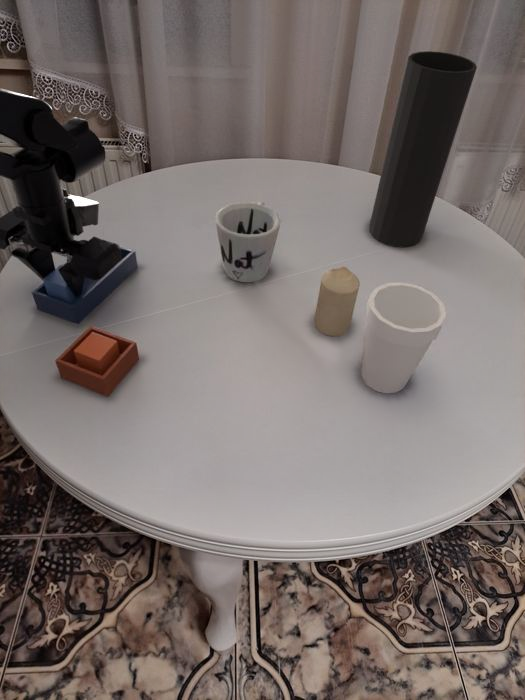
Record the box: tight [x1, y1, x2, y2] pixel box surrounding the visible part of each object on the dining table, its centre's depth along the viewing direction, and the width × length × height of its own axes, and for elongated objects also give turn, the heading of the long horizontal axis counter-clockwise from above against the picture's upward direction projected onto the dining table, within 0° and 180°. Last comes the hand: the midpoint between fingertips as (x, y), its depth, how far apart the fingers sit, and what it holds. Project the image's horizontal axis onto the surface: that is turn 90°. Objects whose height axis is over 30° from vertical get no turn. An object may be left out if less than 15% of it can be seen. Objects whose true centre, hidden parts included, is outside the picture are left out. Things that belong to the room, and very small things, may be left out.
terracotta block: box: [74, 332, 120, 376], centre depth 68 cm, size 4×4×4 cm
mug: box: [214, 201, 282, 283], centre depth 86 cm, size 10×15×10 cm
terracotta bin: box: [54, 325, 140, 398], centre depth 69 cm, size 8×8×3 cm
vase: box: [368, 50, 478, 248], centre depth 88 cm, size 10×10×30 cm
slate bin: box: [31, 245, 138, 325], centre depth 81 cm, size 8×16×3 cm, turn 157°
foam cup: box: [361, 281, 447, 394], centre depth 67 cm, size 10×9×13 cm
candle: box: [313, 266, 361, 337], centre depth 75 cm, size 6×6×10 cm
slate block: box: [42, 264, 87, 305], centre depth 76 cm, size 4×4×4 cm
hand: (66, 291), depth 77 cm, fingers closed on slate block, 4 cm apart
